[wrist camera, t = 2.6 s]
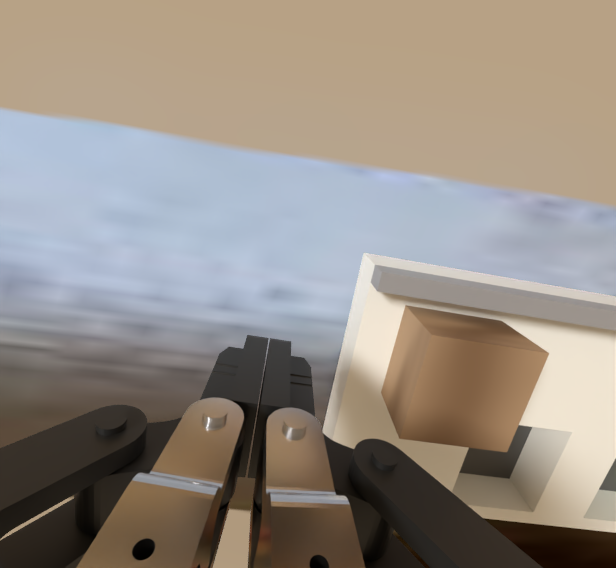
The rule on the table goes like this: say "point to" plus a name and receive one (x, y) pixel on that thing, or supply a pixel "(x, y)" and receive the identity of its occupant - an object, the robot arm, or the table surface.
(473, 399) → the walnut block
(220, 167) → the table surface
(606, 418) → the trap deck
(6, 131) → the table surface
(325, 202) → the table surface
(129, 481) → the robot arm
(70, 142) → the table surface
